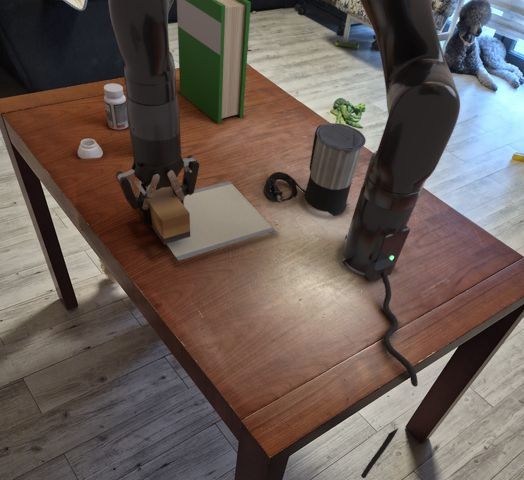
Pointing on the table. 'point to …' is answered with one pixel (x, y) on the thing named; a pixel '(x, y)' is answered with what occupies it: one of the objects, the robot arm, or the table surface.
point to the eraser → (168, 215)
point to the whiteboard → (218, 220)
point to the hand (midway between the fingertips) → (163, 219)
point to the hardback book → (214, 54)
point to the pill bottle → (115, 106)
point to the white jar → (89, 149)
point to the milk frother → (326, 169)
